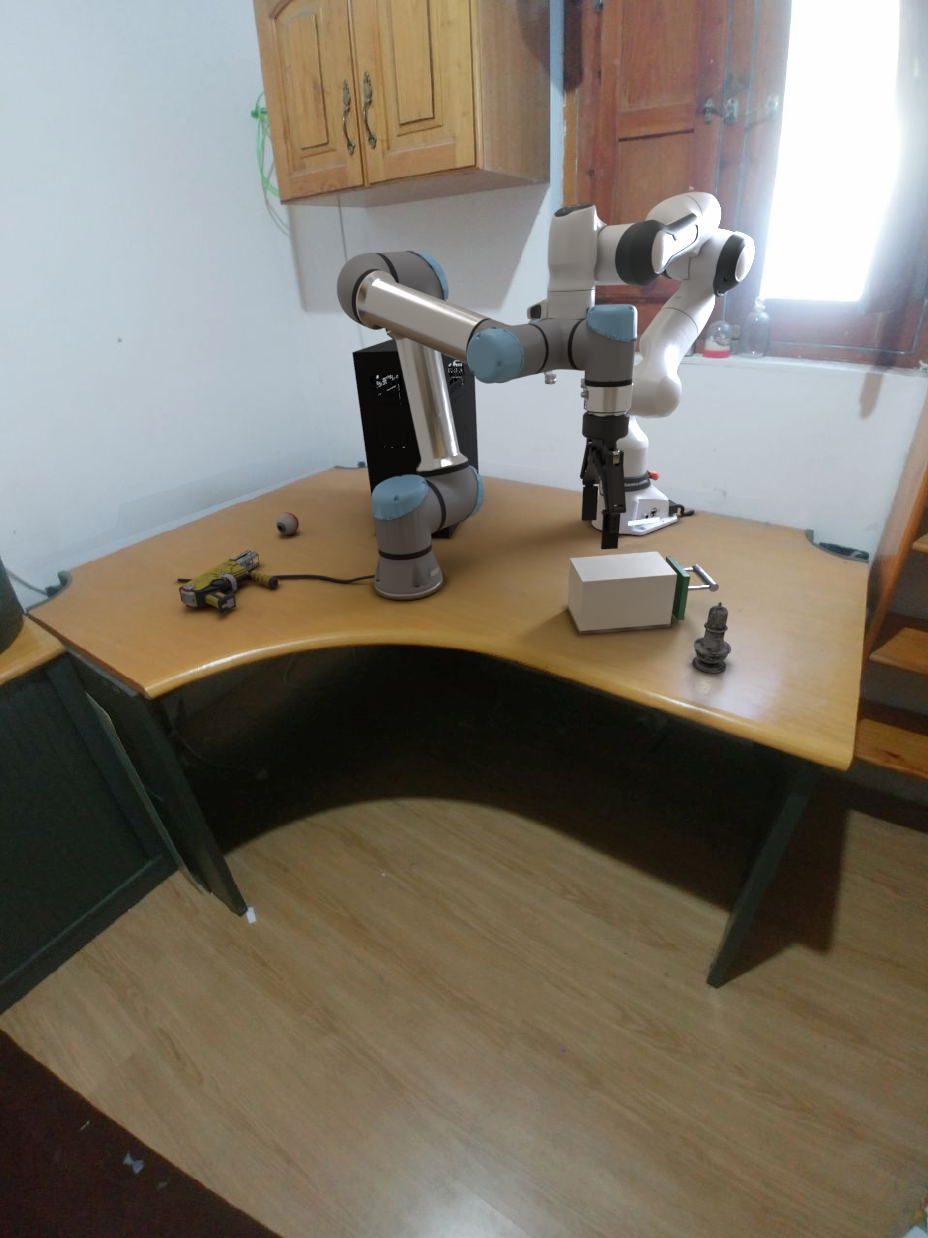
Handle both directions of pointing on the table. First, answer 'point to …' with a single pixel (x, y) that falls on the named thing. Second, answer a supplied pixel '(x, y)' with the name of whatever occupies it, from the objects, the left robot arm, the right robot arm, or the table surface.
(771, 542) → the table surface
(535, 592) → the table surface
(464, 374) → the black box
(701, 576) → the drawer
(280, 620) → the table surface
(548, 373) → the right robot arm
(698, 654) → the dark grey chess piece
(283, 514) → the eyeball
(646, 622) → the cabinet
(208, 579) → the toy gun
